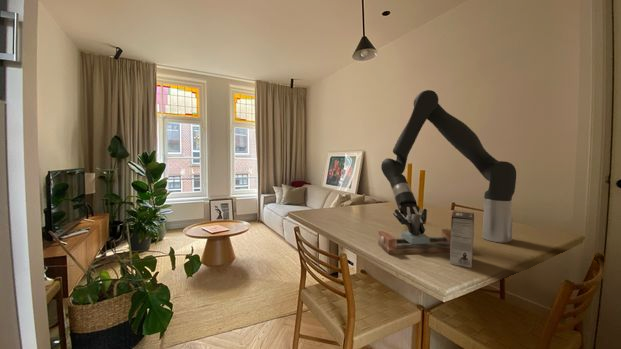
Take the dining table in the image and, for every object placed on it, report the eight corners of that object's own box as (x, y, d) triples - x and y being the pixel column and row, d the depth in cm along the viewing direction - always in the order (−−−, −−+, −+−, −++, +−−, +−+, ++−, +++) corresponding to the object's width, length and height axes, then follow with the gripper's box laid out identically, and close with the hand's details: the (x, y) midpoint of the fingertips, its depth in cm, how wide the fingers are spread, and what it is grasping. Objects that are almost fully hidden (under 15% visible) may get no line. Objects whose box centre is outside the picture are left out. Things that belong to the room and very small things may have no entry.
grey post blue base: (418, 236, 99) (418, 212, 98) (429, 243, 91) (430, 217, 91) (401, 237, 99) (402, 212, 98) (411, 244, 91) (412, 217, 90)
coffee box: (450, 254, 89) (452, 210, 88) (471, 258, 85) (474, 212, 84) (449, 264, 81) (451, 215, 80) (472, 268, 78) (475, 218, 76)
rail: (449, 241, 102) (449, 228, 101) (466, 251, 92) (467, 236, 91) (377, 244, 99) (377, 231, 98) (387, 254, 89) (387, 239, 88)
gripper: (390, 191, 100) (403, 229, 89) (423, 190, 102) (440, 227, 90) (385, 201, 106) (396, 238, 95) (416, 200, 107) (431, 237, 96)
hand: (418, 233), depth 93 cm, fingers closed on grey post blue base, 3 cm apart
